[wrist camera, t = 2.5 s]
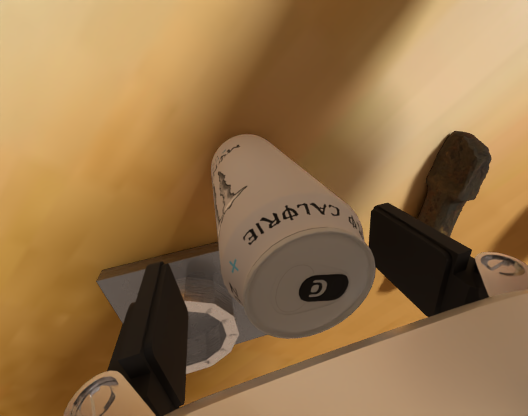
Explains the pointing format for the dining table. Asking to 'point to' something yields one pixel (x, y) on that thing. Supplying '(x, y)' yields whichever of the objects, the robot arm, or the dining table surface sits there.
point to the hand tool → (454, 180)
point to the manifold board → (189, 302)
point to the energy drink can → (286, 241)
